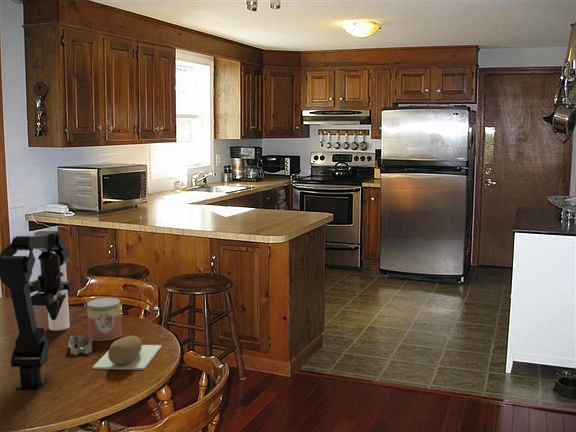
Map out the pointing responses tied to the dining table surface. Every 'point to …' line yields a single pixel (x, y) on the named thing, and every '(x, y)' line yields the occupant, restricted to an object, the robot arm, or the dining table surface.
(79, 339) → the egg carton
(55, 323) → the cylindrical container
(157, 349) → the mat
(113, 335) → the canned food
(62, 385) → the dining table surface
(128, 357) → the tan nozzle bottle
